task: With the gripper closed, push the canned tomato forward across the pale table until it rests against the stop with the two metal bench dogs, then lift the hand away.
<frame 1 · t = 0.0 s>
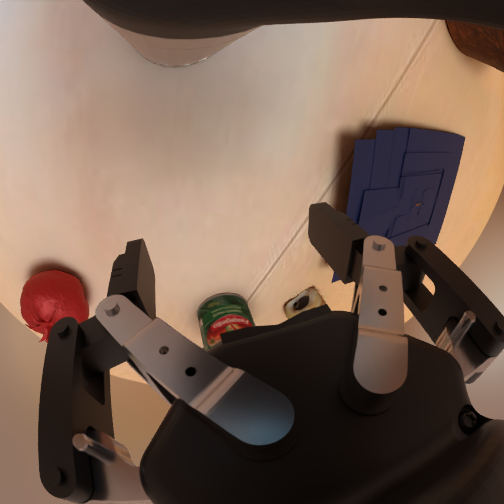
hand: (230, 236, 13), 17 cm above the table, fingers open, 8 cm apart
pastry: (304, 303, 46), on the table
navy folded cloth: (402, 196, 39), on the table
canned tomato: (222, 310, 41), on the table
case: (461, 21, 20), on the table
pomegranate: (60, 287, 30), on the table
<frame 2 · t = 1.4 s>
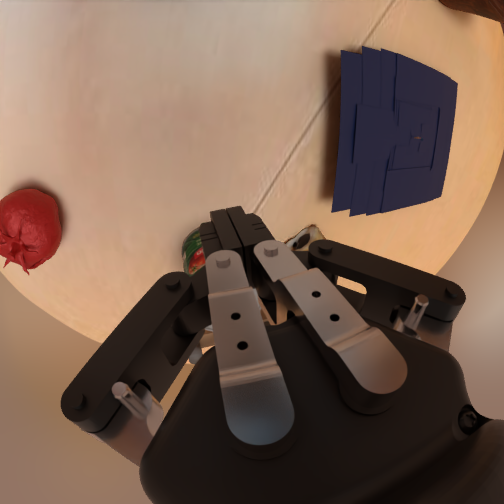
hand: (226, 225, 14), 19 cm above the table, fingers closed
pastry: (305, 248, 42), on the table
navy folded cloth: (400, 132, 35), on the table
canned tomato: (210, 249, 37), on the table
bench stop: (221, 306, 43), on the table
pomegranate: (36, 216, 26), on the table
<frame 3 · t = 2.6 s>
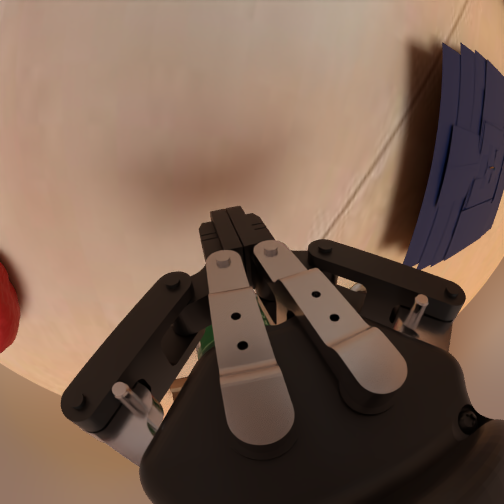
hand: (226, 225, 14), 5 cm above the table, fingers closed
navy folded cloth: (471, 157, 23), on the table
canned tomato: (232, 320, 26), on the table
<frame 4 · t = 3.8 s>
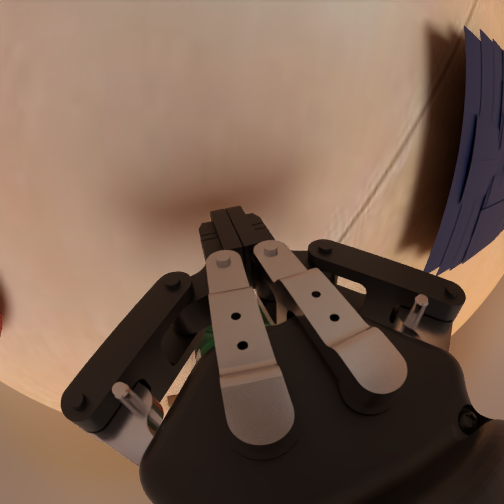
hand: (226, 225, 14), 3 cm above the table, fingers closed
navy folded cloth: (487, 154, 20), on the table
canned tomato: (237, 332, 23), on the table
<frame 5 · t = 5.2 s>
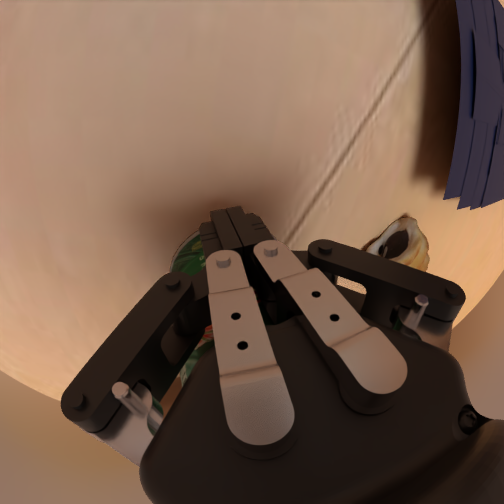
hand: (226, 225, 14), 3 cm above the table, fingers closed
pastry: (389, 254, 23), on the table
navy folded cloth: (492, 97, 16), on the table
canned tomato: (227, 271, 19), on the table, touching gripper
bench stop: (242, 360, 25), on the table
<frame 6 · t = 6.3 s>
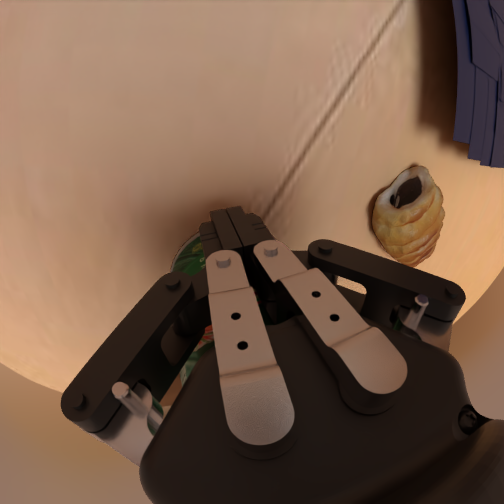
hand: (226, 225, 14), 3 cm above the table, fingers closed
pastry: (400, 211, 21), on the table
navy folded cloth: (490, 62, 14), on the table
canned tomato: (227, 273, 19), on the table, touching bench stop, gripper
bench stop: (238, 334, 22), on the table
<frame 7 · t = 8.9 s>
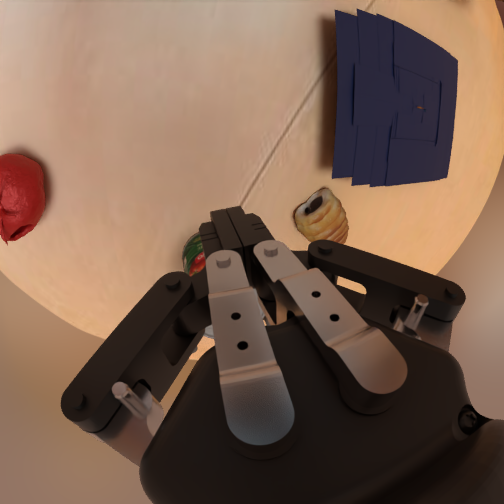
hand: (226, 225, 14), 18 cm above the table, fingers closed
pastry: (319, 215, 37), on the table
navy folded cloth: (402, 103, 31), on the table
canned tomato: (211, 254, 36), on the table
pomegranate: (22, 186, 23), on the table
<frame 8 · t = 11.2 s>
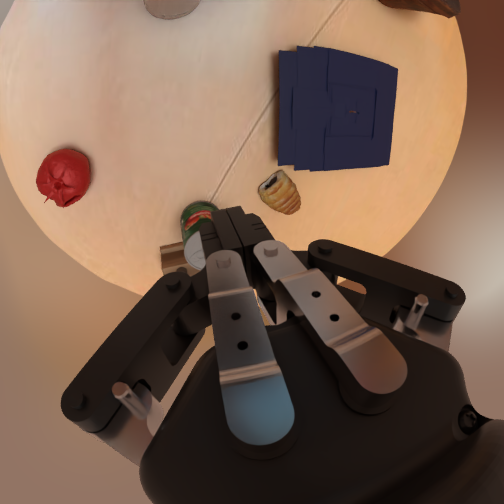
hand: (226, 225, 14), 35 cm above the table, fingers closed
pastry: (278, 190, 53), on the table
navy folded cloth: (340, 109, 46), on the table
canned tomato: (200, 219, 52), on the table
bench stop: (205, 247, 55), on the table
pomegranate: (70, 171, 39), on the table
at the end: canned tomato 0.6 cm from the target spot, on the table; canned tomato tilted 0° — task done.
